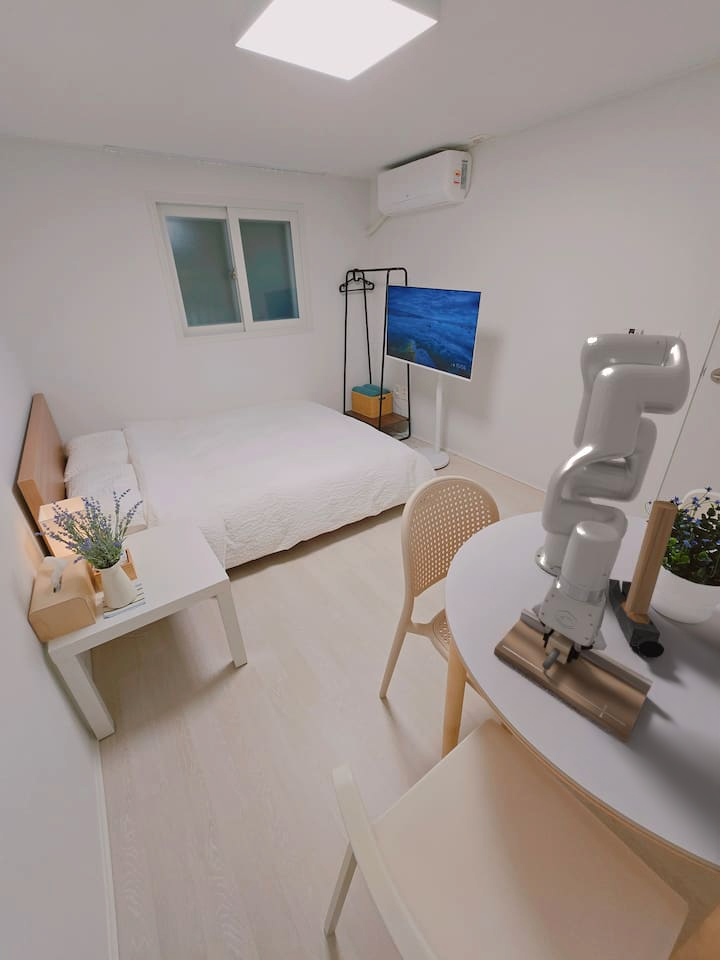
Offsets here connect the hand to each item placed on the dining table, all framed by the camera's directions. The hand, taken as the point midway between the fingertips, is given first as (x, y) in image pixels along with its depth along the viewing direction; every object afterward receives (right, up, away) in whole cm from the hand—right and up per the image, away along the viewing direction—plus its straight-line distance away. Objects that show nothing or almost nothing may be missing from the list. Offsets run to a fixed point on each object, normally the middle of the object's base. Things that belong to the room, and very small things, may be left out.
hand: (559, 650), depth 82 cm
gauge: (-2, -1, -1) cm, 2 cm away
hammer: (+20, +2, +9) cm, 22 cm away
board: (0, -4, -2) cm, 4 cm away
